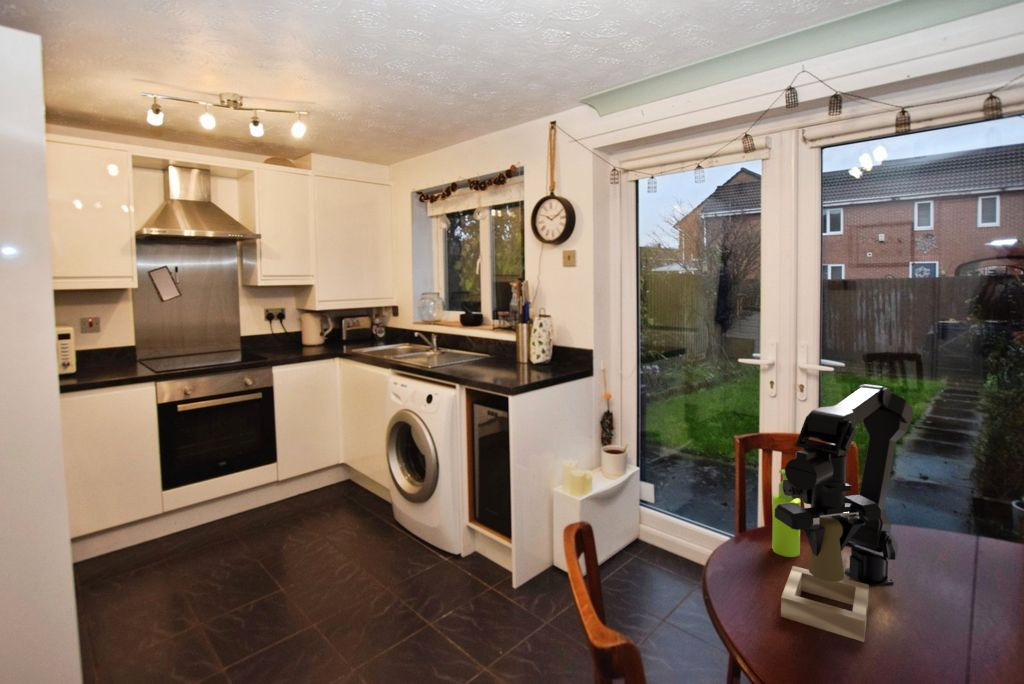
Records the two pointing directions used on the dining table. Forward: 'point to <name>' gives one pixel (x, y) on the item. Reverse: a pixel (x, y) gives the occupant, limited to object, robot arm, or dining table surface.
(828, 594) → the socket block
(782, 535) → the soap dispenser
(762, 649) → the dining table surface
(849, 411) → the robot arm
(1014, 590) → the dining table surface
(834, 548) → the olive round-headed peg
